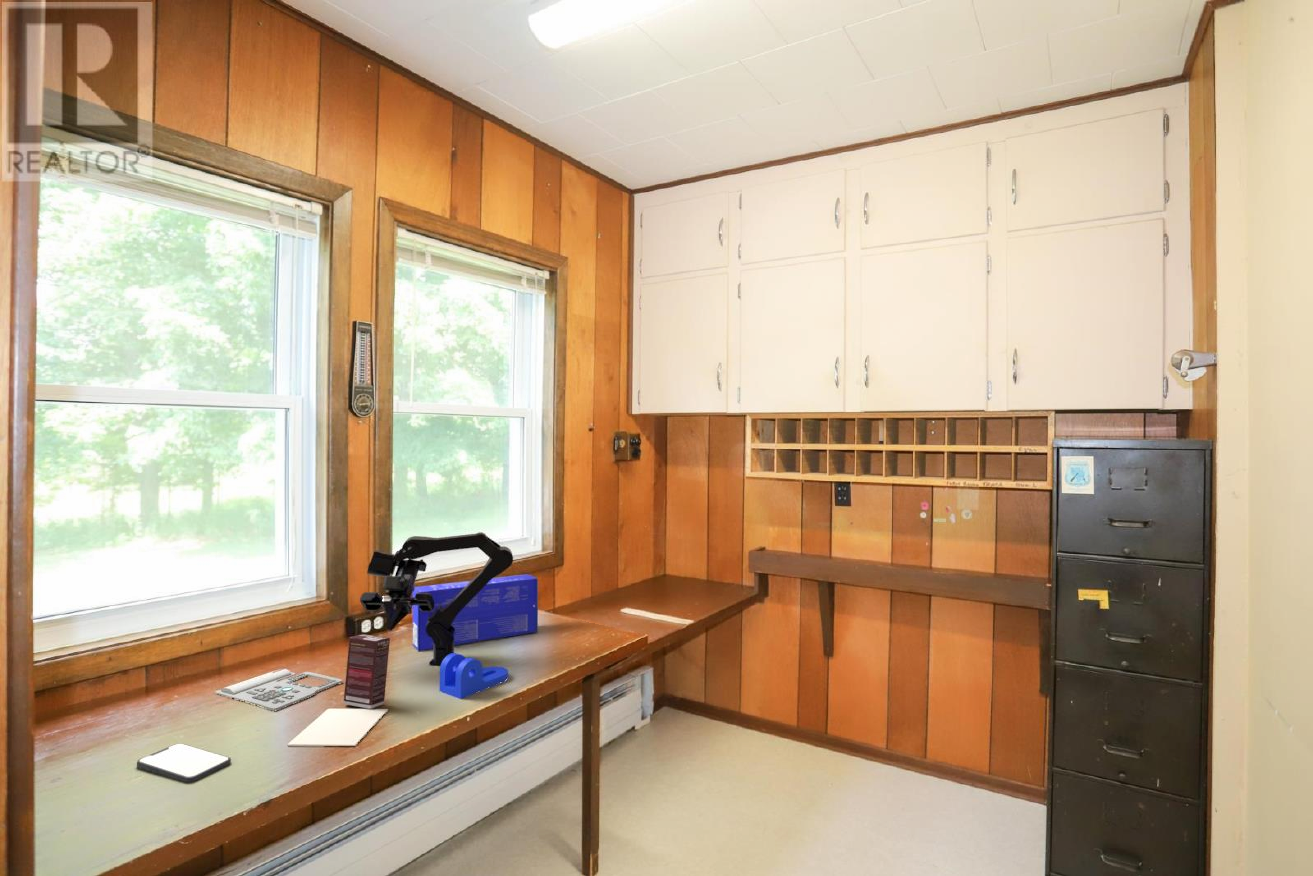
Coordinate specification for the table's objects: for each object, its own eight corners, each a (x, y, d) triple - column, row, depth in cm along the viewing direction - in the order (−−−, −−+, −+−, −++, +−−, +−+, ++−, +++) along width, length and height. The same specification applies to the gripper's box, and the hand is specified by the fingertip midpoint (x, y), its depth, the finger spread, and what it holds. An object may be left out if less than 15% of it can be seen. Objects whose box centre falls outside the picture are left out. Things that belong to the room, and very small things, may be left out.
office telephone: (212, 686, 164) (287, 662, 182) (212, 697, 164) (287, 671, 182) (274, 703, 154) (346, 675, 172) (274, 714, 154) (346, 685, 172)
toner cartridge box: (528, 627, 226) (529, 573, 226) (538, 633, 219) (539, 578, 219) (410, 644, 205) (412, 585, 205) (417, 652, 198) (418, 591, 198)
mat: (328, 710, 155) (328, 708, 155) (387, 710, 156) (387, 709, 156) (287, 746, 137) (287, 744, 137) (354, 746, 138) (355, 744, 138)
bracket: (460, 699, 163) (461, 663, 163) (439, 692, 168) (440, 656, 168) (514, 678, 178) (515, 645, 178) (493, 672, 183) (494, 639, 183)
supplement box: (385, 704, 159) (391, 637, 161) (370, 710, 155) (377, 641, 156) (356, 699, 162) (363, 633, 164) (341, 704, 158) (348, 636, 159)
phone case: (234, 765, 130) (179, 749, 136) (234, 757, 130) (179, 741, 136) (188, 788, 122) (132, 769, 128) (189, 779, 122) (133, 761, 128)
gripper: (363, 562, 179) (344, 614, 168) (432, 563, 180) (417, 615, 169) (374, 585, 187) (357, 635, 176) (440, 586, 187) (427, 636, 176)
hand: (389, 630), depth 174 cm, fingers closed
